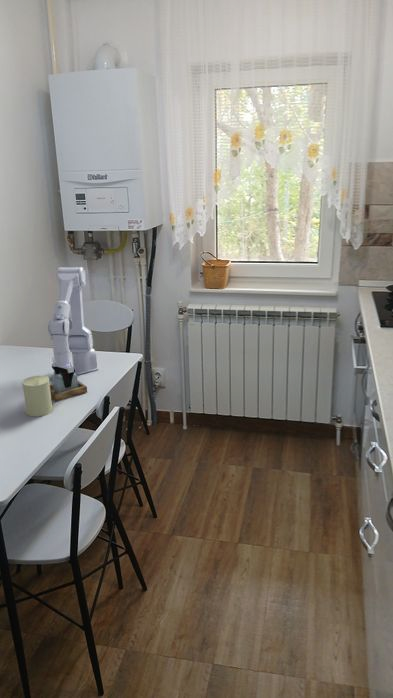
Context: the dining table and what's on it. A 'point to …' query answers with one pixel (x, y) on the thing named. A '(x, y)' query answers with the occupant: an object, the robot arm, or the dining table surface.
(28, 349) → the dining table surface
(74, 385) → the pale blue cuboid
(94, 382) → the dining table surface
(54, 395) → the tray
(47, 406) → the can
